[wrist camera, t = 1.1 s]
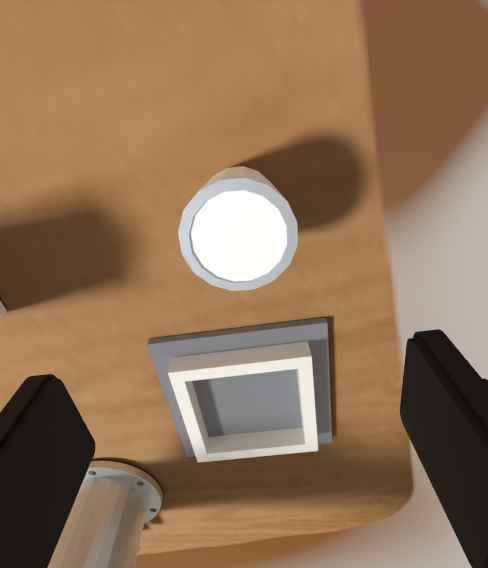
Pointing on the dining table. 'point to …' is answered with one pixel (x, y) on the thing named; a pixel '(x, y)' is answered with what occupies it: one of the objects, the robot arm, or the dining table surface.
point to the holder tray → (248, 389)
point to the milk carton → (2, 310)
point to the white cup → (238, 231)
